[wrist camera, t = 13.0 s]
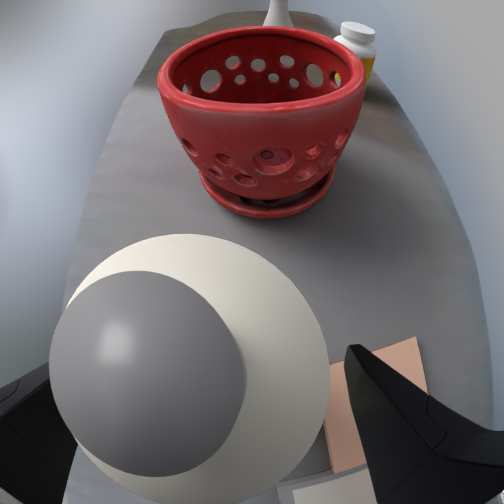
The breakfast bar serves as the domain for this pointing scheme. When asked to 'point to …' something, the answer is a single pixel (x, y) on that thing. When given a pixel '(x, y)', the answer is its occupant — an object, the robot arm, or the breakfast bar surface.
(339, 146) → the plant pot
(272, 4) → the flask
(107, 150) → the breakfast bar surface
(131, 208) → the breakfast bar surface
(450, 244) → the breakfast bar surface
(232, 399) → the cream bottle
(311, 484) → the grey unit
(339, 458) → the terracotta pad
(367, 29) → the supplement bottle
